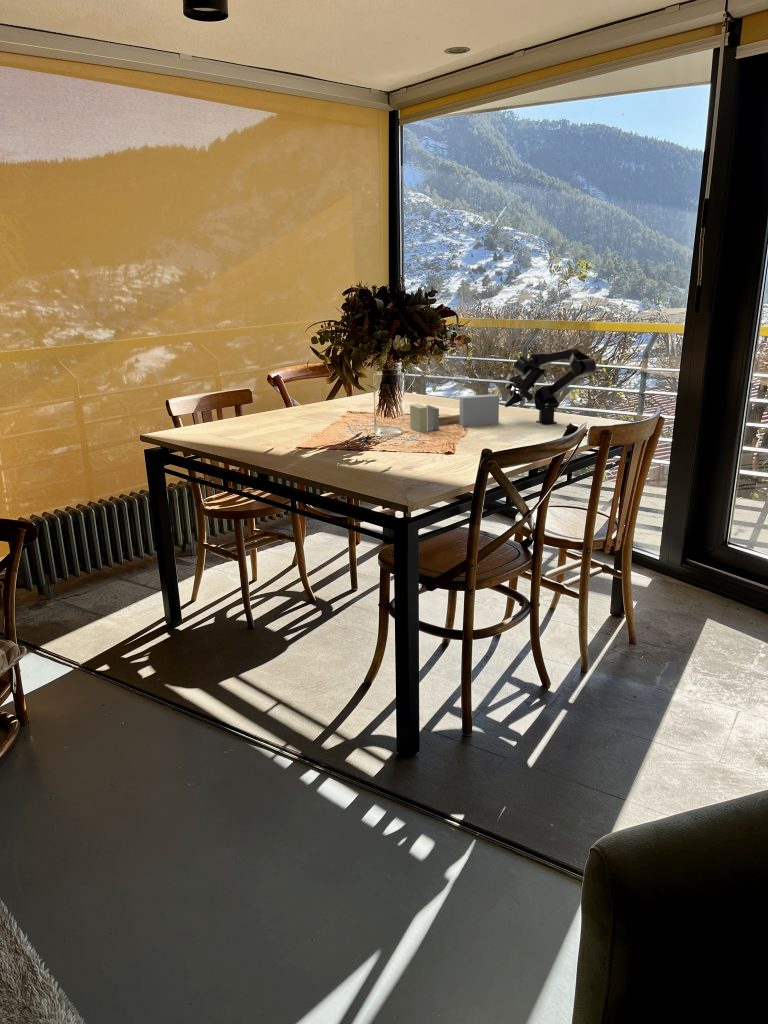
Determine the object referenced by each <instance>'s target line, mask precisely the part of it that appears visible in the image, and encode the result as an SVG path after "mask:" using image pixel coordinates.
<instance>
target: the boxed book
mask: <svg viewBox="0 0 768 1024" xmlns="http://www.w3.org/2000/svg"><path fill="white" fill-rule="evenodd" d="M499 414H500V396H499V394H496V393H494V394H493V393H491V394H490V393H489V394H479V395H478V394H477V395H475V394H474V395H462V396H459V415H460V421H459V423H458V425H460V426H461V427H472V426H483V425H485V426H486V425H487V426H488V425H498V424H499V421H500V417H499V416H500V415H499Z"/></svg>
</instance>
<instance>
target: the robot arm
mask: <svg viewBox="0 0 768 1024" xmlns="http://www.w3.org/2000/svg"><path fill="white" fill-rule="evenodd" d="M563 360H568V362H569V366H570V368H571V369H570V371H568V372H567V373H566V374H564V375H563V376H562V377H560V378H559V379H558V380H556V382H554V383H553V384H549V385H543V386H540V387H539V388H538V389H537V390H535V393H534V394H532V393H531V392H530V391H531V389H534V388H535V384H536V383H537V382H538V381H539V380H540V379H541V378H542V377H543V378H546V379H547V377H548V375H547V372H548V371H547V370H546V368H543V369H542V368H540V367H545V366H547V365H550V364H552V363H554V362H558V361H563ZM513 368H514V369H515V370H516V371H517V372H518V373H520V374H518V373H516V374H512V373H510V372H508V374H507V376H506V377H505V381H507V383H506V384H505V385H504V387H505V389H506V390H508V392H509V394H508V396H507V399H506V401H505V403H504V405H503V406H504V407H505V408H508V407H511V406H513V405H516V404H518V403H521V402H522V401H524V398H525V399H526V401H527V402H532V400H533V402H534V405H535V409H536V410H538V413H539V414H538V420H536V421H535V422H536V423H539V424H541V425H553V424H557V422H558V421H555V409H558V408H559V406H560V403H559V401H558V400H557V397H558V394H560V393H561V392H562V391H564V390H566V388H568V387H569V386H571V385H572V384H573V383H575V382H576V381H578V380H579V379H580V378H583V377H587V376H588V375H592V374H594V373H595V372H596V370H597V363H596V361H595V360H594V359H592V358H591V357H590V356H589V355H587V354H585V353H583V352H581V350H580V349H578V348H574V347H573V348H567V349H564V350H560V351H555V352H554V351H553V352H550V351H549V352H548V351H543V352H541V351H540V352H534V353H531V354H530V357H529V358H527V357H526V356H525V355H520V356H519V358H518V359H517V360H516V361H515V362H514V364H513ZM521 374H522V375H521ZM533 396H534V397H533Z"/></svg>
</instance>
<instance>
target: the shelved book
mask: <svg viewBox="0 0 768 1024" xmlns="http://www.w3.org/2000/svg"><path fill="white" fill-rule="evenodd" d="M409 413H410V414H409V418H410V419H409V420H410V424H409V425H410V430H413V431H415V432H418V433H428V432H429V431H428V407H426V405H424V404H420V403H416V404H410V405H409Z"/></svg>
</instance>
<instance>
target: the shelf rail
mask: <svg viewBox="0 0 768 1024" xmlns="http://www.w3.org/2000/svg"><path fill="white" fill-rule="evenodd" d="M459 421H460V414H455V415H445V416H444V415H443V416H439V426H442V425H451V424H459Z"/></svg>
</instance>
